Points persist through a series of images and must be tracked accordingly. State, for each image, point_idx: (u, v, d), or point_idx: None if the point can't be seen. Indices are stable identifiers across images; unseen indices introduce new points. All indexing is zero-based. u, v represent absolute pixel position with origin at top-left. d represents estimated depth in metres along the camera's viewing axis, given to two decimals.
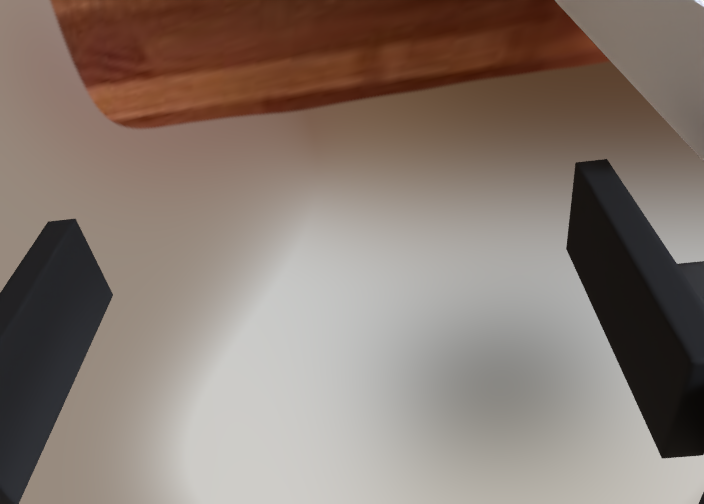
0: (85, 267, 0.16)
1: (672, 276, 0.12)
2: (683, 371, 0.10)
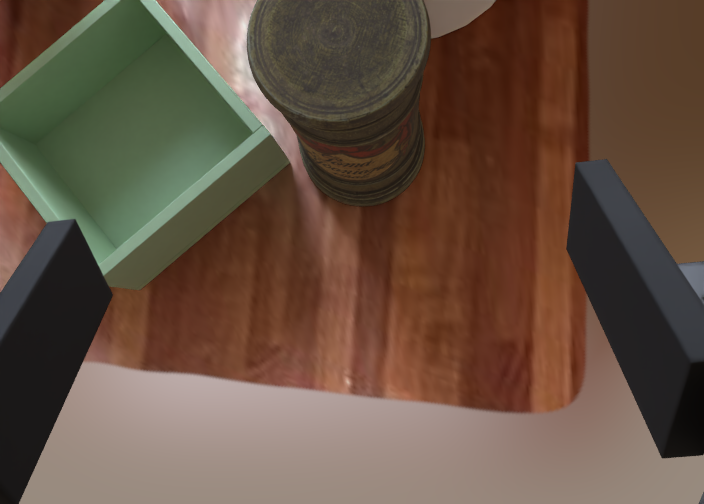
0: (85, 267, 0.16)
1: (672, 276, 0.12)
2: (683, 371, 0.10)
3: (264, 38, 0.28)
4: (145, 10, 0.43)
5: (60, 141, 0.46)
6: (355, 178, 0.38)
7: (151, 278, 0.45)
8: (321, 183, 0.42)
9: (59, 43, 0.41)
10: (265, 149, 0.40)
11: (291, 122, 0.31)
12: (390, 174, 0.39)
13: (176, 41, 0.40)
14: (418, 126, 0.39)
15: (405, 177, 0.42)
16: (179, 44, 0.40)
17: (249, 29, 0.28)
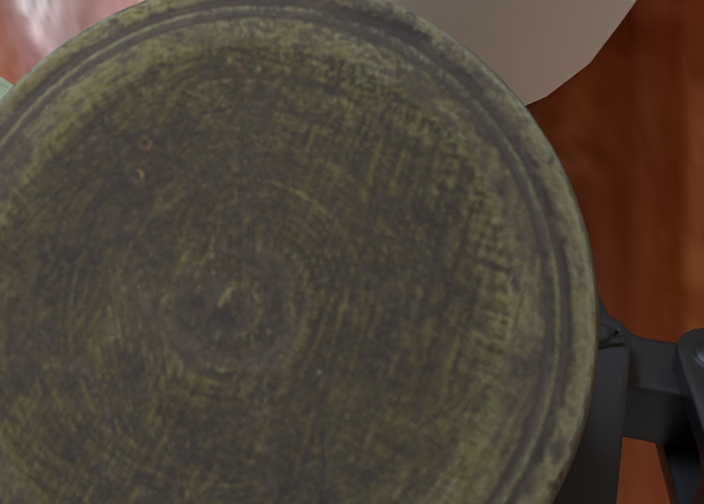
0: None
1: None
2: None
3: None
4: None
5: None
6: None
7: None
8: None
9: None
10: None
11: None
12: None
13: None
14: None
15: None
16: None
17: None
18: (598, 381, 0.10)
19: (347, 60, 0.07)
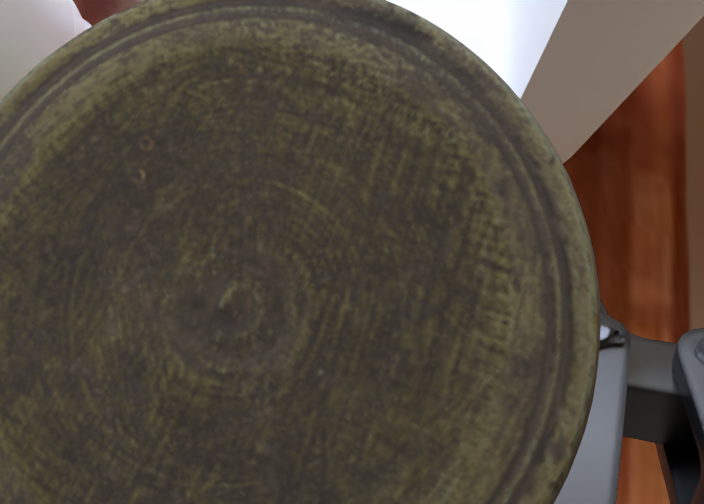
0: None
1: None
2: None
3: None
4: None
5: None
6: None
7: None
8: None
9: None
10: None
11: None
12: None
13: None
14: None
15: None
16: None
17: None
18: (598, 381, 0.10)
19: (348, 61, 0.07)
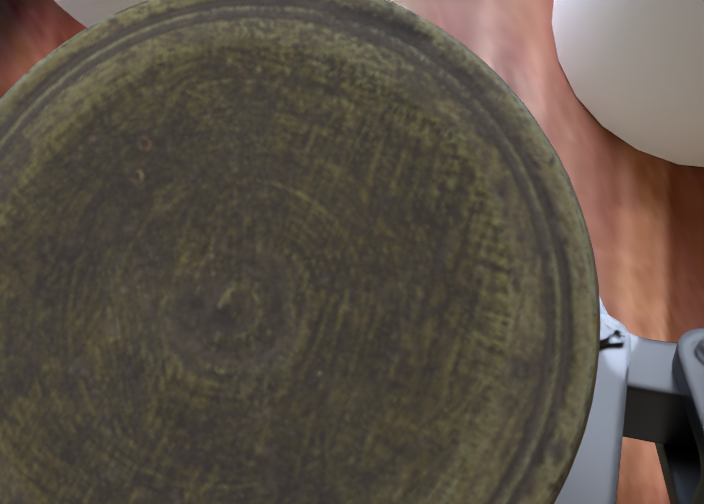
0: None
1: None
2: None
3: None
4: None
5: None
6: None
7: None
8: None
9: None
10: None
11: None
12: None
13: None
14: None
15: None
16: None
17: None
18: (598, 381, 0.10)
19: (348, 60, 0.07)
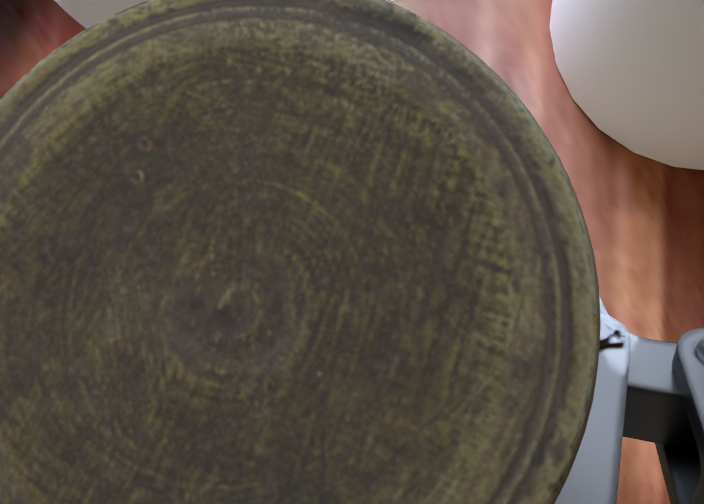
0: None
1: None
2: None
3: None
4: None
5: None
6: None
7: None
8: None
9: None
10: None
11: None
12: None
13: None
14: None
15: None
16: None
17: None
18: (598, 381, 0.10)
19: (347, 61, 0.07)
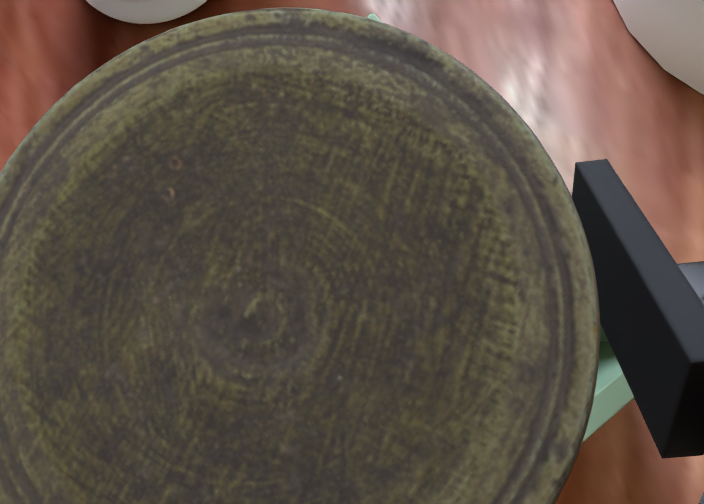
0: None
1: (672, 276, 0.12)
2: (683, 371, 0.10)
3: (5, 333, 0.08)
4: None
5: None
6: None
7: None
8: None
9: None
10: None
11: None
12: None
13: None
14: None
15: None
16: None
17: None
18: None
19: (365, 86, 0.08)
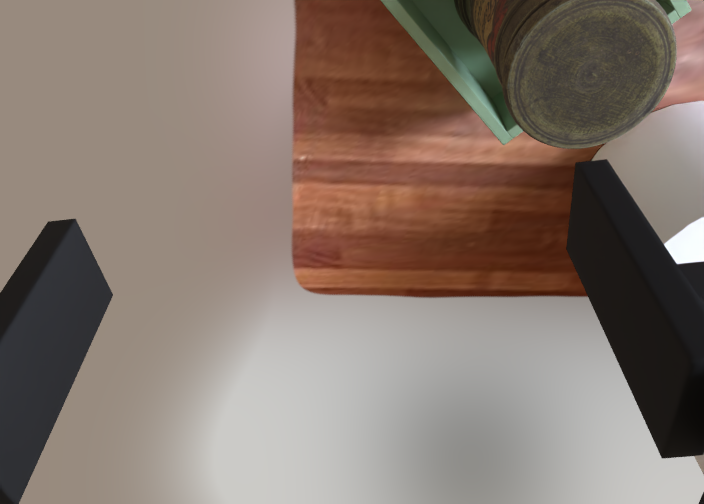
0: (85, 267, 0.16)
1: (672, 276, 0.12)
2: (683, 371, 0.10)
3: (601, 9, 0.28)
4: None
5: None
6: (475, 8, 0.39)
7: None
8: None
9: None
10: None
11: None
12: (476, 36, 0.42)
13: None
14: None
15: (475, 35, 0.44)
16: None
17: None
18: None
19: (643, 99, 0.31)
